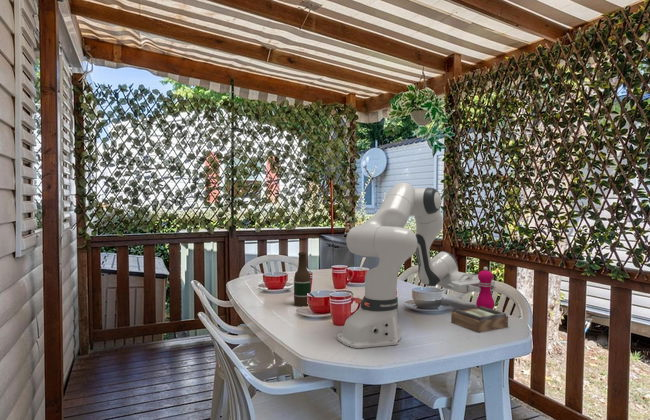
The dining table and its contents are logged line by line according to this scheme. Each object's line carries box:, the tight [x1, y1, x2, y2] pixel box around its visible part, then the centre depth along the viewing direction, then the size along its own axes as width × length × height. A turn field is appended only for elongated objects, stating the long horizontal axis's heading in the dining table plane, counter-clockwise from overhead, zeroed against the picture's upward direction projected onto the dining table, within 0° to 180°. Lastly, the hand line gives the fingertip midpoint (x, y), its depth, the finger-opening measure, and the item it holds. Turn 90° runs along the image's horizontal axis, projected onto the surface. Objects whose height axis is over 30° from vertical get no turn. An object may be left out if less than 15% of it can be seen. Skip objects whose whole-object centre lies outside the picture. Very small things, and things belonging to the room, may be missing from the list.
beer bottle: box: [293, 251, 312, 308], centre depth 200 cm, size 8×8×24 cm
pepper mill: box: [475, 266, 495, 310], centre depth 183 cm, size 7×7×20 cm
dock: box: [450, 306, 509, 333], centre depth 169 cm, size 15×14×5 cm
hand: (487, 288), depth 182 cm, fingers open, 7 cm apart
